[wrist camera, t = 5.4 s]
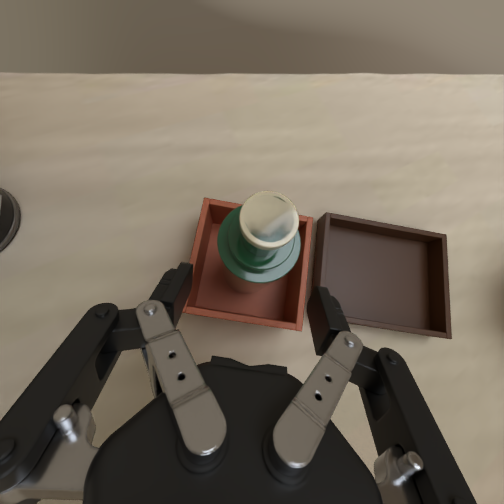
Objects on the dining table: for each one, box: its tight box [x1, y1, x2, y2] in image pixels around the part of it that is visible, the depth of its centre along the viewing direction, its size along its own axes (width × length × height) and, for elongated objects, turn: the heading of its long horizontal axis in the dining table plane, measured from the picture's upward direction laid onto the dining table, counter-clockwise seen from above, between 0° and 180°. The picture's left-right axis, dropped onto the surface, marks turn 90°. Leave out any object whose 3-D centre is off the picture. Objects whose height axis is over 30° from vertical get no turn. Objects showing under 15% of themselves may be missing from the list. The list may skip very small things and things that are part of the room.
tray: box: [311, 212, 452, 339], centre depth 28 cm, size 15×12×3 cm
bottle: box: [217, 191, 301, 294], centre depth 20 cm, size 6×6×16 cm
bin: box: [182, 198, 313, 331], centre depth 25 cm, size 11×11×6 cm
